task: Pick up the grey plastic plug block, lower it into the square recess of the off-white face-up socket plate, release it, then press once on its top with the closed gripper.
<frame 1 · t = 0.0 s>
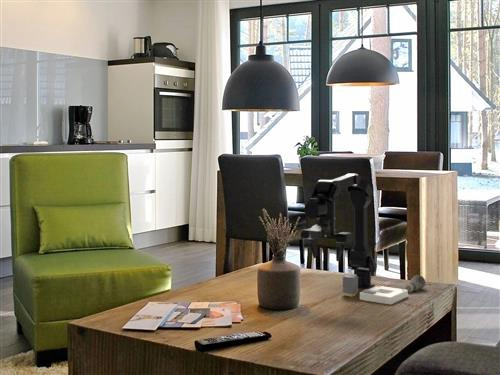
hand: (326, 259, 247), 15 cm above the table, fingers open, 9 cm apart
stone: (415, 290, 264), on the table
plug: (350, 295, 256), on the table
socket plate: (383, 298, 251), on the table
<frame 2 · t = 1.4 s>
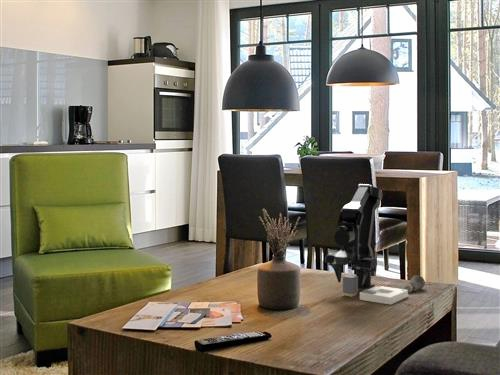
hand: (350, 283, 256), 4 cm above the table, fingers open, 9 cm apart
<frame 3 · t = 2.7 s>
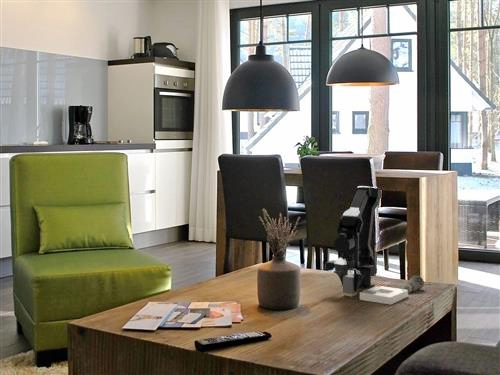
hand: (350, 290, 256), 2 cm above the table, fingers closed on plug, 4 cm apart
plug: (350, 295, 256), on the table, touching gripper
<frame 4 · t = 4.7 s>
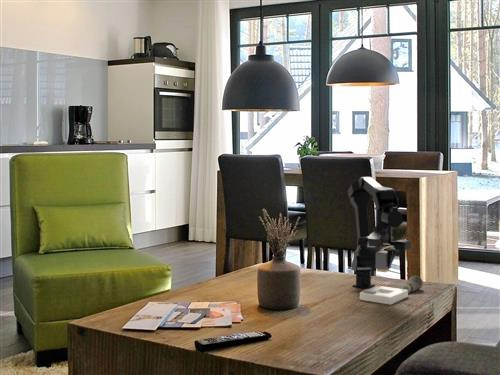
hand: (383, 266, 250), 11 cm above the table, fingers closed on plug, 4 cm apart
plug: (383, 271, 250), point 10 cm above the table, touching gripper
when the fingers open (3 cm above the table, at t = 6.5 s): plug drops 1 cm, resting in socket plate.
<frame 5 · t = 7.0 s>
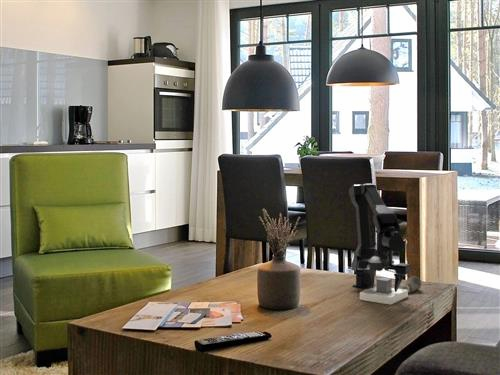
hand: (383, 289, 251), 3 cm above the table, fingers open, 9 cm apart
plug: (383, 298, 251), resting in socket plate
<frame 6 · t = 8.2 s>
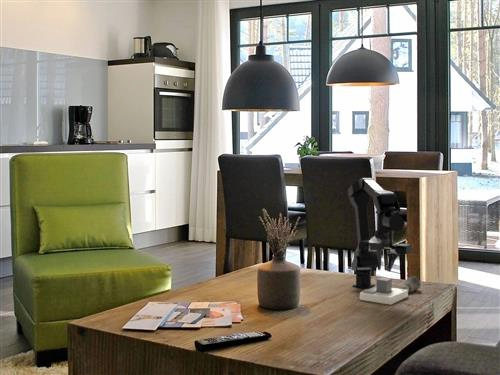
hand: (384, 270, 250), 10 cm above the table, fingers open, 4 cm apart
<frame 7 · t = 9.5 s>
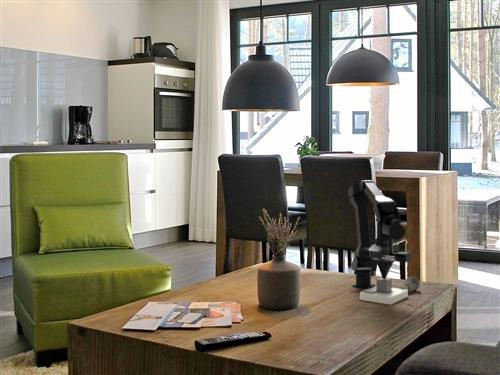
hand: (384, 278, 251), 7 cm above the table, fingers closed
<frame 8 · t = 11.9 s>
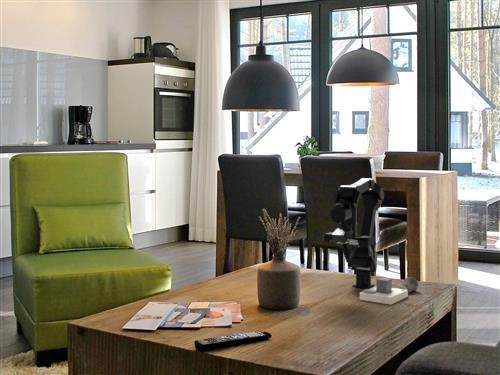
hand: (348, 262, 256), 12 cm above the table, fingers closed
at the end: plug 0.1 cm off-centre on the socket plate, point 0.0 cm above the socket plate's base; plug tilted 0°; the gripper is holding nothing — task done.
